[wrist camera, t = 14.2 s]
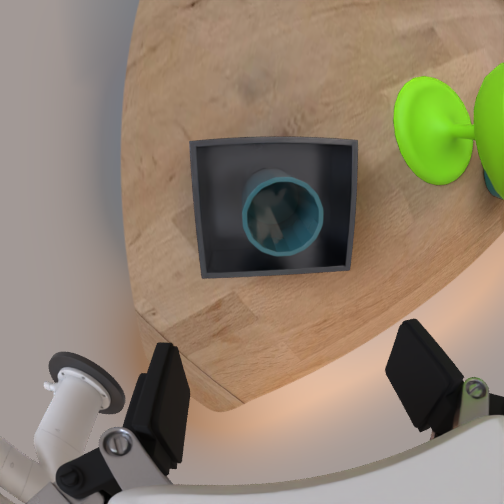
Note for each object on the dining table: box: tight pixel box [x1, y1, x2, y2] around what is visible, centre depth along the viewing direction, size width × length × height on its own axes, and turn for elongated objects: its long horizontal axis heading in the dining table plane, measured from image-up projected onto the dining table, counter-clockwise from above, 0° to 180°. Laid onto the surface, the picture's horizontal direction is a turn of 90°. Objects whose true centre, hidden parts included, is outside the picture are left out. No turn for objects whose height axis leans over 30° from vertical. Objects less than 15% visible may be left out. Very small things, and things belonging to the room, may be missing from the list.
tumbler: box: [241, 168, 323, 256], centre depth 26 cm, size 7×7×9 cm
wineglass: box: [393, 62, 504, 200], centre depth 19 cm, size 16×16×18 cm
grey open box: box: [189, 137, 358, 279], centre depth 28 cm, size 15×13×7 cm
